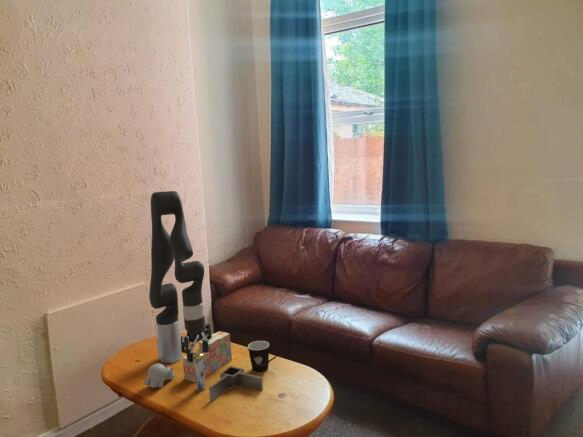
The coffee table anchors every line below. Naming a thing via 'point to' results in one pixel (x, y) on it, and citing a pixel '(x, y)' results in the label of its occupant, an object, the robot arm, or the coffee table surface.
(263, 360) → the coffee mug
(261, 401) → the coffee table surface
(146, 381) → the chubby cartoon animal
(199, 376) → the hinge pin
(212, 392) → the hinge leaves
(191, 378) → the stack of blocks
